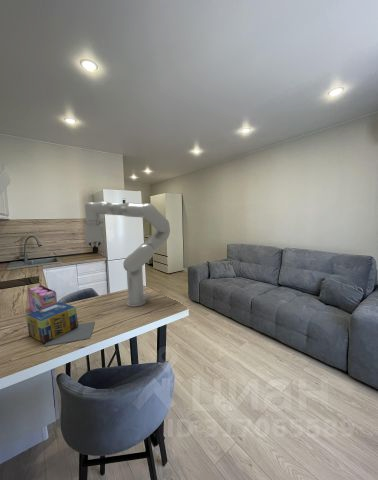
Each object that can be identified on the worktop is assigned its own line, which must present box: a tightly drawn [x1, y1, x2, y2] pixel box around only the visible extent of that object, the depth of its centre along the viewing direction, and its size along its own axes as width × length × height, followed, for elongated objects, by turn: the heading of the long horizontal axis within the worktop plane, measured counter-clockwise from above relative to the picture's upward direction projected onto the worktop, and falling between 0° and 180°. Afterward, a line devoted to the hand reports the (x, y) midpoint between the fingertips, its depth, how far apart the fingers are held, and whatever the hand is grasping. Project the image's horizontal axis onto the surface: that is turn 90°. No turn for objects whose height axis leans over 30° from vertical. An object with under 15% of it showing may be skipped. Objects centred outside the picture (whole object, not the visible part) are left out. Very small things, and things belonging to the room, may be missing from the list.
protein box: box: [25, 301, 79, 344], centre depth 101 cm, size 10×15×16 cm
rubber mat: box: [43, 321, 96, 348], centre depth 100 cm, size 18×16×1 cm
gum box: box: [27, 284, 58, 313], centre depth 125 cm, size 24×8×14 cm, turn 52°
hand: (95, 253), depth 128 cm, fingers closed
